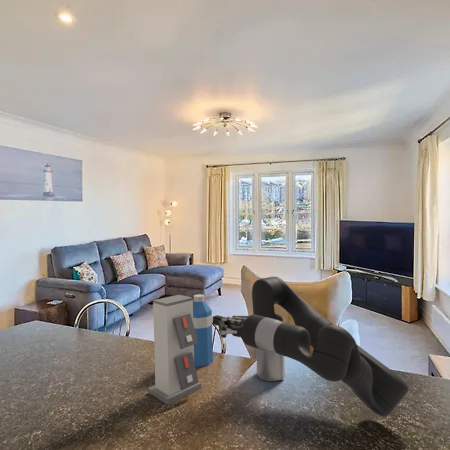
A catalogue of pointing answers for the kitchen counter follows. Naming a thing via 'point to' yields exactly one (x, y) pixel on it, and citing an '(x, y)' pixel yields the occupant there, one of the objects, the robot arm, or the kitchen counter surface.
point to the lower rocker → (186, 370)
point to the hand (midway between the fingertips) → (214, 319)
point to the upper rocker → (185, 331)
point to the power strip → (169, 348)
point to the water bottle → (202, 331)
